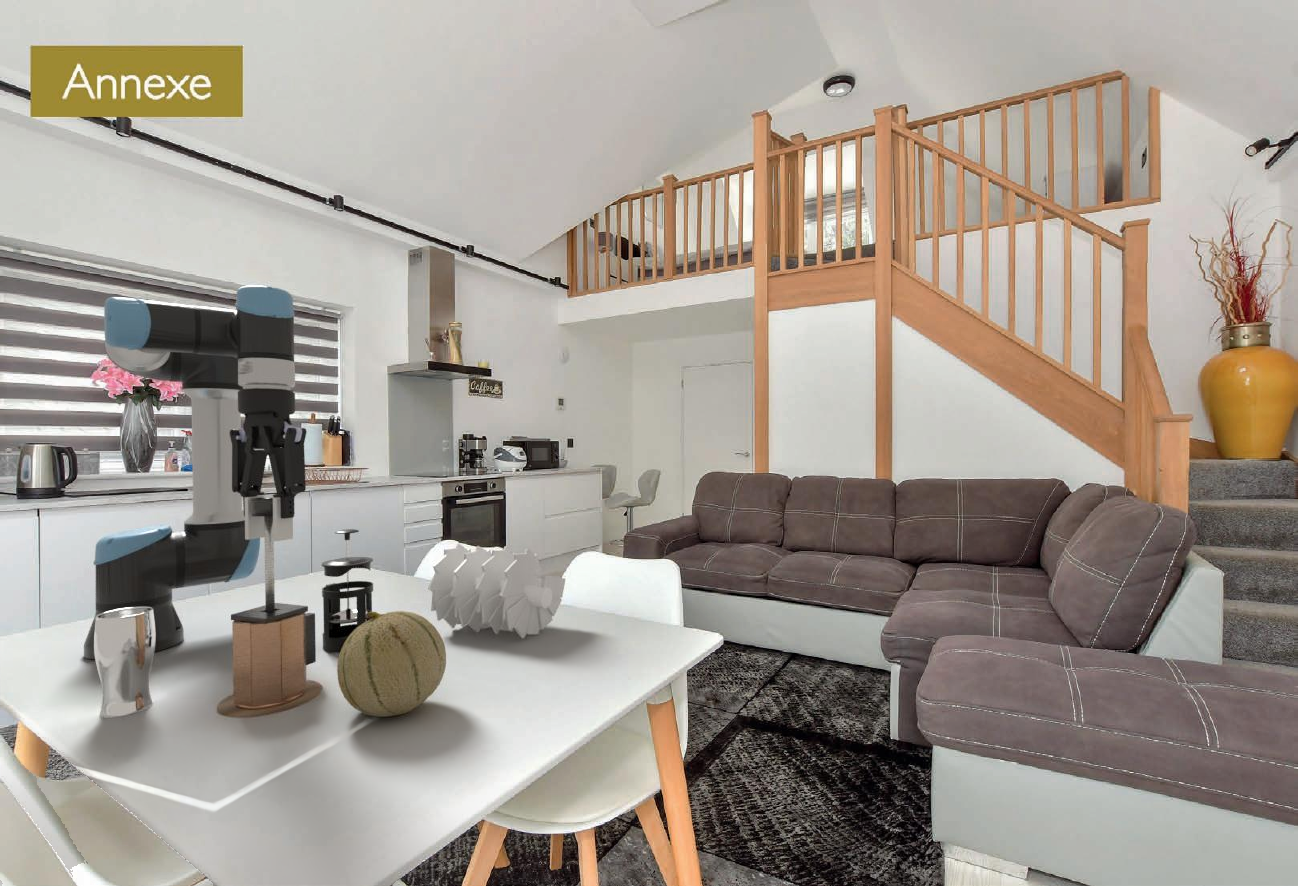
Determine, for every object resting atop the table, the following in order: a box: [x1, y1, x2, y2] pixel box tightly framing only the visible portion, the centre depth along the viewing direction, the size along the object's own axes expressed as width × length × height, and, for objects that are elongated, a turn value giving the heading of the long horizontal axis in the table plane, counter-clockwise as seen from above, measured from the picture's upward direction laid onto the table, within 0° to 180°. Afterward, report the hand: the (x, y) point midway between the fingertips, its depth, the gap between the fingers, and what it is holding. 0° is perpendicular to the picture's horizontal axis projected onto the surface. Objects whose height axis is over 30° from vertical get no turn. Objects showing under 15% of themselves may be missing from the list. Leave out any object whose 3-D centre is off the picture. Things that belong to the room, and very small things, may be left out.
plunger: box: [252, 496, 276, 613], centre depth 94 cm, size 6×6×21 cm
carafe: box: [230, 602, 317, 710], centre depth 95 cm, size 9×12×13 cm
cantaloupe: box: [336, 610, 447, 718], centre depth 90 cm, size 15×15×15 cm
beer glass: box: [94, 607, 156, 719], centre depth 91 cm, size 7×7×15 cm
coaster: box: [215, 679, 324, 719], centre depth 94 cm, size 14×14×1 cm
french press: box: [321, 528, 374, 654], centre depth 119 cm, size 12×9×23 cm
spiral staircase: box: [428, 543, 566, 640], centre depth 128 cm, size 18×18×25 cm
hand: (269, 538), depth 94 cm, fingers open, 5 cm apart
